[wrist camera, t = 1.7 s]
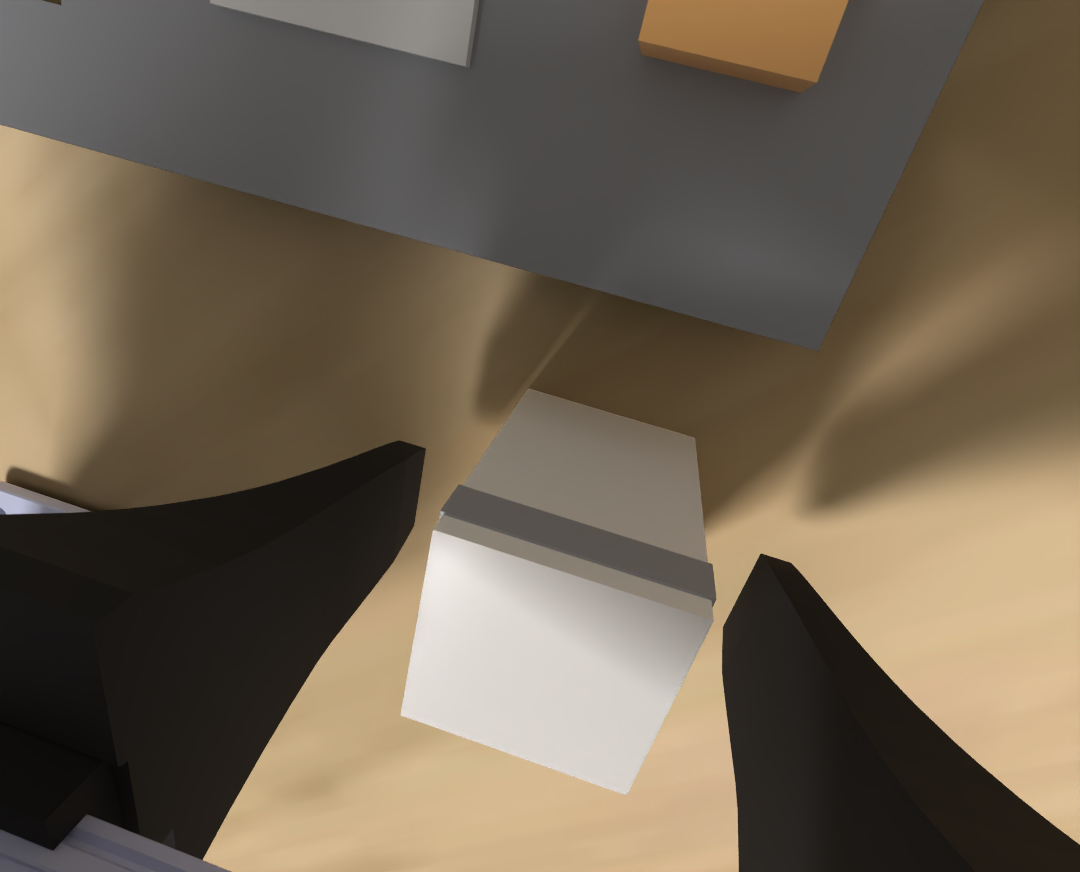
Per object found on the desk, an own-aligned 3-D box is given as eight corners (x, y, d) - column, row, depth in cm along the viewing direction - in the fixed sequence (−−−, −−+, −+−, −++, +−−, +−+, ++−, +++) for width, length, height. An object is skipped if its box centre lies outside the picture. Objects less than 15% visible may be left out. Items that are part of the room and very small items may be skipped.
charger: (643, 572, 15) (628, 798, 9) (493, 525, 15) (397, 715, 10) (698, 436, 13) (718, 619, 8) (526, 385, 13) (430, 525, 8)
